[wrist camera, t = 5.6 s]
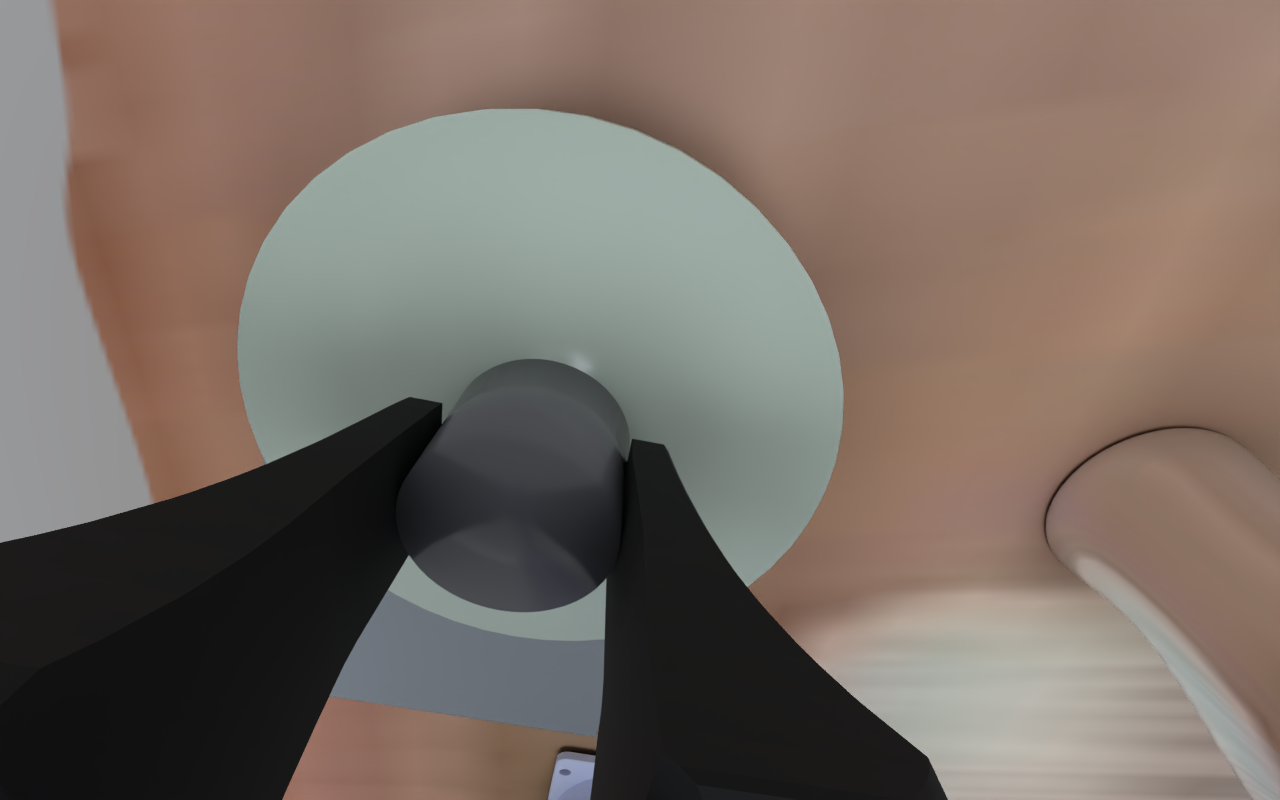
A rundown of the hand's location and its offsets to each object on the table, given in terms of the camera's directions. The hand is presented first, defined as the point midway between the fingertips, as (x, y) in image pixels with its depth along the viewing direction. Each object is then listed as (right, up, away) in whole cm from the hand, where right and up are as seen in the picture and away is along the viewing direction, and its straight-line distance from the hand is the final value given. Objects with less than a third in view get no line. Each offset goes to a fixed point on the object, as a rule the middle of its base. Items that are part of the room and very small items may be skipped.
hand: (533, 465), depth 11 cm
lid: (0, +1, +1) cm, 2 cm away
